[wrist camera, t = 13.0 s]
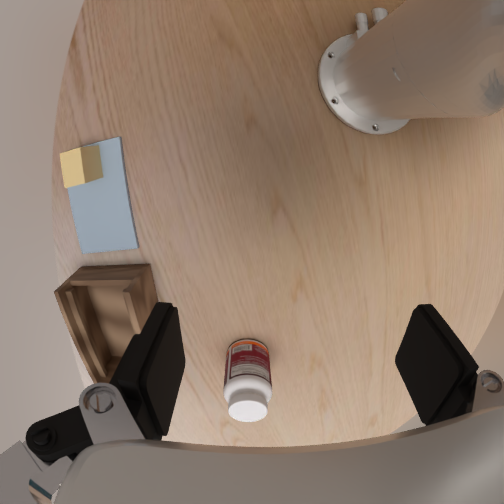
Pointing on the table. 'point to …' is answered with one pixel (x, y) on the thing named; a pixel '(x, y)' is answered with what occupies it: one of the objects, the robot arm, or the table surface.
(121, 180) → the cover plate
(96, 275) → the walnut box
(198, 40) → the table surface
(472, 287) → the table surface
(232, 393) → the pill bottle
